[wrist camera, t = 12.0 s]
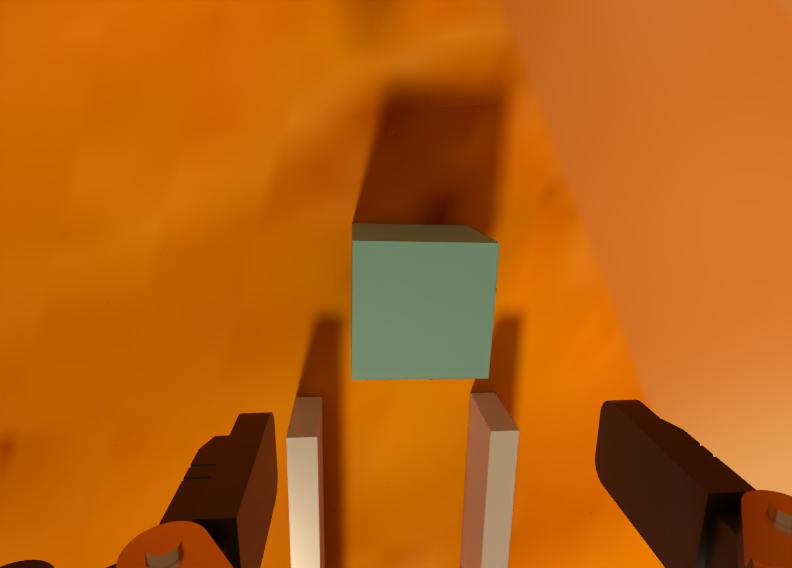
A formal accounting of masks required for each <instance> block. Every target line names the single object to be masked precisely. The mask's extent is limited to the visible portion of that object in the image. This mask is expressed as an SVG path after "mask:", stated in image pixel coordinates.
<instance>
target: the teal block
mask: <svg viewBox="0 0 792 568" xmlns="http://www.w3.org/2000/svg"><path fill="white" fill-rule="evenodd" d="M499 244H500V243H499V242H497V241H495V240H493V239H491V238H489V237H487V236H486V235H484V234H482V233H480V232H478V231H476V230H475V229H473V228H471V227H469V226H467V225H426V224H373V223H352V289H351V380H399V379H489V369H490V357H491V344H492V332H493V319H494V307H495V294H496V282H497V269H498V256H499Z"/></svg>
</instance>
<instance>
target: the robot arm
mask: <svg viewBox="0 0 792 568" xmlns="http://www.w3.org/2000/svg"><path fill="white" fill-rule="evenodd" d="M595 464H596V470H597V474H598V477H599V479H600V481H601V483H602V485H603V486H604V487H605V489H606V490H607V491H608V493H609V494H610V495H611V497H612V498H613V499H614V501H615V502H616V503H617V505H618V506H619V507H620V509H621V510H622V511H623V512H624V514H625V515H626V516H627V518H628V519H629V520H630V522H631V523H632V524H633V526H634V527H635V528H636V530H637V531H638V532H639V534H640V535H641V536H642V538H643V539H644V540H645V541H646V543H647V544H648V545H649V547H650V548H651V549H652V551H653V552H654V553H655V555H656V556H657V557H658V559H659V560H660V561H661V563H662V564H663V565H664V566H665V568H792V496H789V495H786V494H783V493H779V492H774V491H768V490H756V489H754V488H753V487H752V486H751V485H749V484H748V483H747V482H746V481H745V480H743V479H742V478H741V477H740V476H739V475H737V474H736V473H735V472H734V471H733V470H731V469H730V468H729V467H728V466H727V465H725V464H724V463H723V462H722V461H720V460H719V459H718V458H717V457H713V454H712V453H711V452H710V451H708V450H707V449H706V448H705V447H703V446H700V443H699V442H698V441H696V440H695V439H694V438H692V437H691V436H690V435H689V434H688V433H687V432H685V431H684V430H683V429H681V428H679V427H677V426H675V425H673V424H671V423H669V422H666V421H664V420H663V419H660V418H659V417H658V416H657V415H656V414H654V413H653V412H652V411H651V410H650V409H649V408H647V407H646V406H645V405H644V404H643V403H642V402H640V401H639V400H614V401H605V402H604V403H603V405H602V407H601V412H600V421H599V429H598V438H597V446H596V454H595ZM277 478H278V474H277V456H276V440H275V424H274V416H273V413H272V412H269V413H242V414H239V416H238V418H237V420H236V422H235V425H234V427H233V429H232V431H231V434H230V436H215V437H213V438H212V439H211V440H210V441H209V442H207V443H206V444H205V445H204V446H203V447H201V448H200V449H199V450H198V452H197V454H196V456H195V458H194V459H193V461H192V463H191V467H190V468H189V469H188V471H187V473H186V475H185V477H184V481H182V482H181V484H180V486H179V488H178V490H177V492H176V494H175V495H174V497H173V499H172V501H171V503H170V505H169V507H168V509H167V511H166V512H165V514H164V516H163V518H162V520H161V522H160V524H159V525H158V526H155V527H153V528H150V529H149V530H147V531H145V532H143V533H141V534H140V535H138V536H137V537H135V538H134V539H133V540H132V541H131V542H130V543H129V544H128V545H127V546H126V547H125V548H124V549H123V551H122V552H121V554H120V555H119V557H118V560H117V563H116V564H114V565H112V566H109V567H107V568H260V567H261V562H262V558H263V553H264V549H265V544H266V540H267V536H268V531H269V527H270V522H271V518H272V514H273V509H274V505H275V500H276V494H277ZM0 568H54V567H53V566H52V565H51V564H50V563H48V562H45V561H41V560H25V561H18V562H14V563H11V564H7V565H4V566H2V567H0Z"/></svg>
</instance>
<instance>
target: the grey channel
mask: <svg viewBox="0 0 792 568" xmlns="http://www.w3.org/2000/svg"><path fill="white" fill-rule="evenodd" d="M518 441H519V429H518V428H517V426H516V424H515V423H514V421H513V420H512V418H511V417H510V415H509V413H508V412H507V410H506V409H505V407H504V405H503V404H502V402H501V401H500V399H499V398H498V396H497V394H496V393H495V392H486V393H470V409H469V426H468V444H467V461H466V478H465V495H464V512H463V529H462V546H461V563H460V568H508V558H509V546H510V534H511V523H512V511H513V499H514V488H515V476H516V464H517V453H518ZM286 443H287V469H288V496H289V523H290V549H291V568H325V535H324V480H323V425H322V397H296V398H295V402H294V407H293V411H292V415H291V420H290V424H289V428H288V433H287V437H286Z"/></svg>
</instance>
